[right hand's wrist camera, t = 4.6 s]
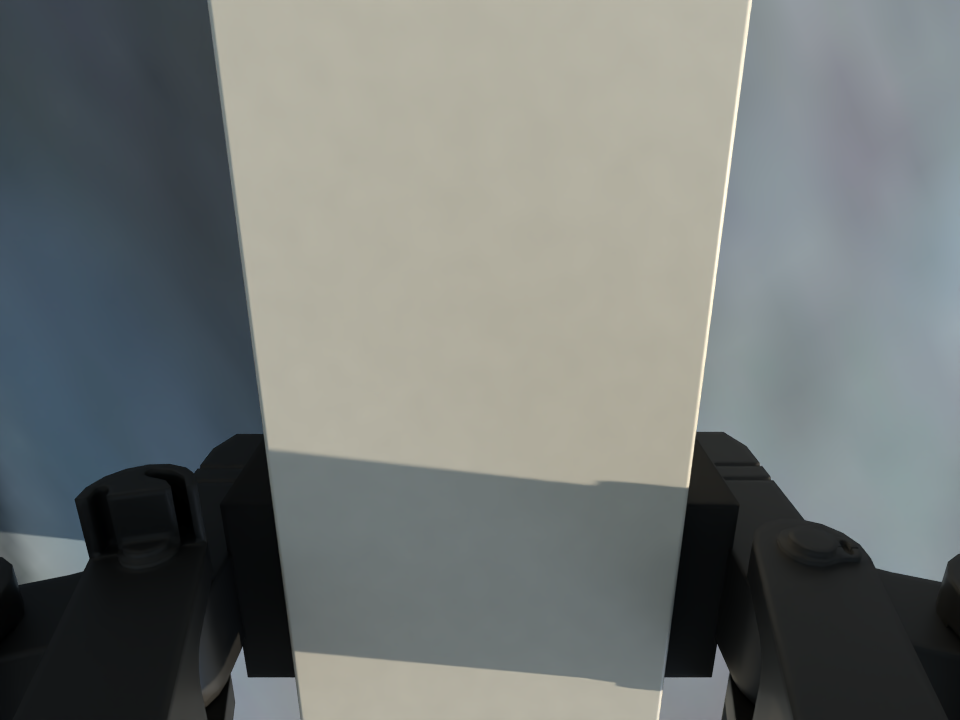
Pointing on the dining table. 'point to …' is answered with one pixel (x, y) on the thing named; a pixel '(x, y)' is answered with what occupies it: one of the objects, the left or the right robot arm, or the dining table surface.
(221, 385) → the dining table surface
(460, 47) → the beam
